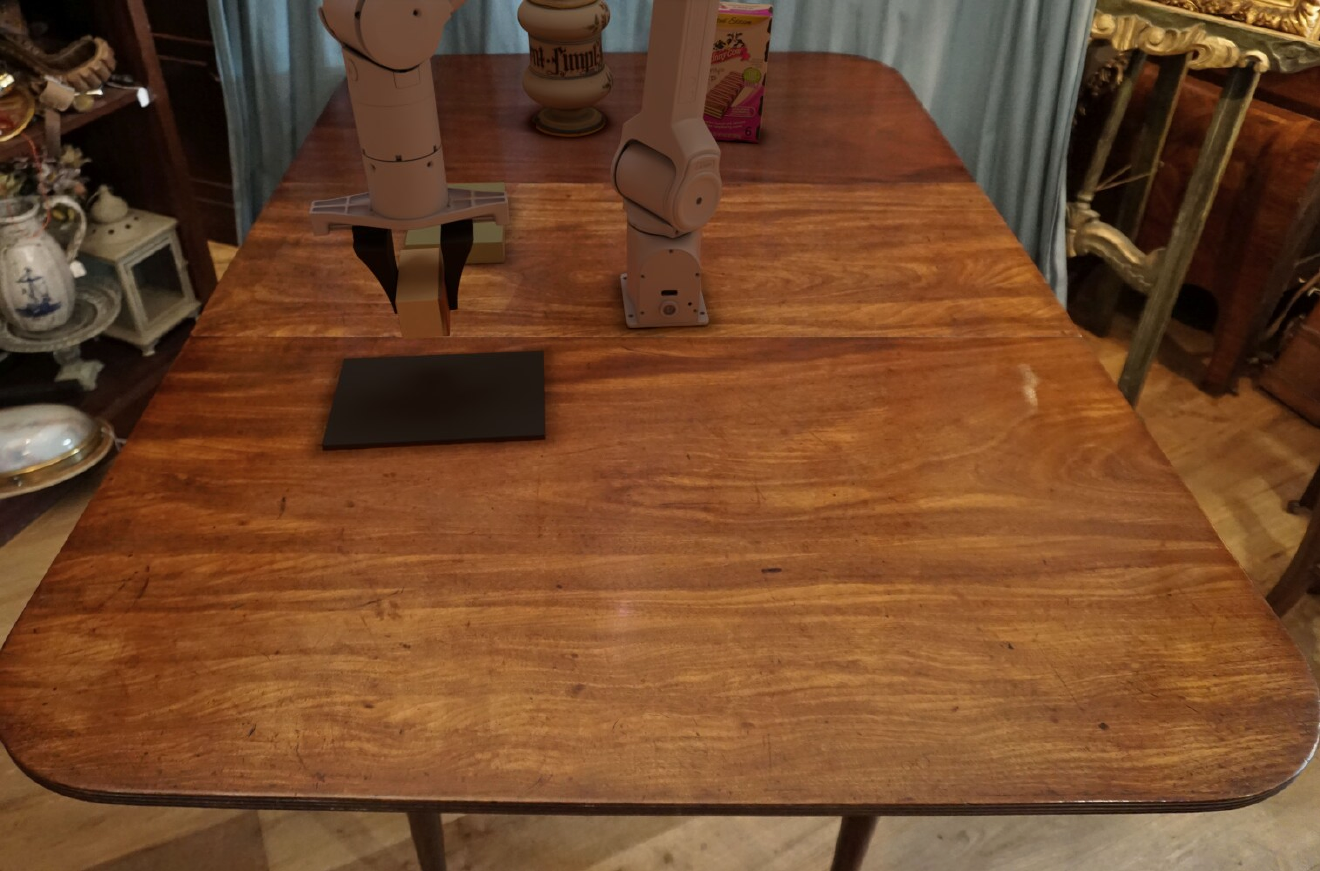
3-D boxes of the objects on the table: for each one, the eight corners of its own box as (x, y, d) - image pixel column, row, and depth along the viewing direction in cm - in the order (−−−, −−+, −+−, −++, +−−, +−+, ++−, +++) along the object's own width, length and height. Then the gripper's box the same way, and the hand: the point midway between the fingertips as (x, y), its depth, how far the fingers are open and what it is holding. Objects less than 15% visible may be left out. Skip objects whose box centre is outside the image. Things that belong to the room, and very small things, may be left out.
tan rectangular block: (450, 336, 74) (444, 298, 72) (402, 339, 73) (395, 301, 71) (450, 283, 80) (445, 247, 78) (406, 286, 79) (399, 249, 77)
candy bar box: (676, 139, 124) (681, 9, 113) (679, 124, 128) (684, -3, 117) (760, 144, 124) (773, 14, 113) (761, 129, 127) (773, 2, 117)
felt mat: (545, 438, 78) (544, 434, 77) (322, 450, 76) (321, 445, 76) (543, 354, 87) (543, 350, 86) (344, 362, 85) (343, 358, 85)
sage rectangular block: (504, 262, 99) (502, 241, 97) (408, 265, 98) (404, 244, 96) (507, 201, 110) (505, 181, 108) (420, 203, 109) (417, 183, 107)
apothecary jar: (514, 112, 130) (502, -28, 118) (595, 100, 134) (592, -36, 122) (540, 146, 122) (531, -1, 110) (626, 133, 125) (626, -11, 114)
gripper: (500, 119, 71) (514, 274, 80) (303, 127, 69) (339, 285, 78) (504, 158, 66) (518, 319, 75) (291, 168, 64) (331, 332, 73)
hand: (427, 305), depth 76 cm, fingers closed on tan rectangular block, 4 cm apart
